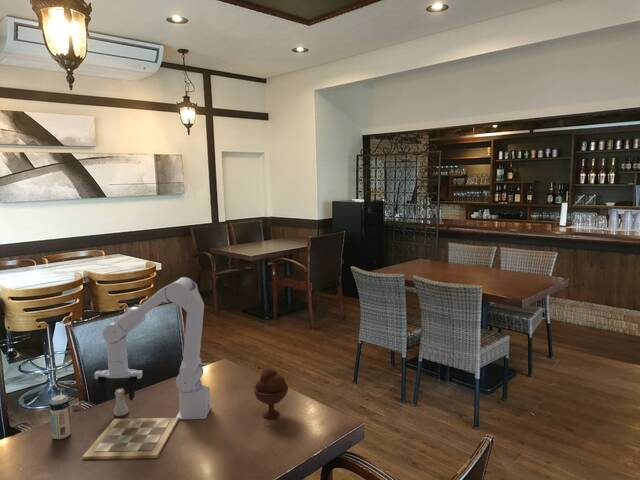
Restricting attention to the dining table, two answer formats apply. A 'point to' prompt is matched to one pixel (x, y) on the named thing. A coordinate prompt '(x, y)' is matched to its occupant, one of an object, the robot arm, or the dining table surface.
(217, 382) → the dining table surface
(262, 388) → the ice cream bowl
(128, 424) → the chessboard
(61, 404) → the white labeled bottle
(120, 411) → the rook chess piece
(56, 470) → the dining table surface
